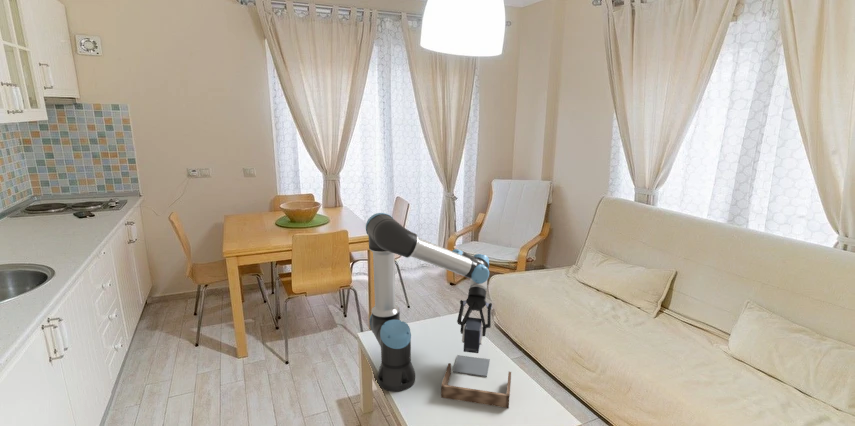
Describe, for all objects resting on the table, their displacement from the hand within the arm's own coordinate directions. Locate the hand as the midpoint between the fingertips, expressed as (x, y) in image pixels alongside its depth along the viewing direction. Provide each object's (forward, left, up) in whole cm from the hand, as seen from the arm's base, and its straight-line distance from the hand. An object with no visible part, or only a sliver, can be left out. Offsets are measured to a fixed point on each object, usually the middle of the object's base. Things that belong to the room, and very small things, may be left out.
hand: (471, 342), depth 175 cm
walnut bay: (+4, -11, -13) cm, 17 cm away
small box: (0, +4, -4) cm, 5 cm away
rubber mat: (0, +3, -13) cm, 13 cm away
